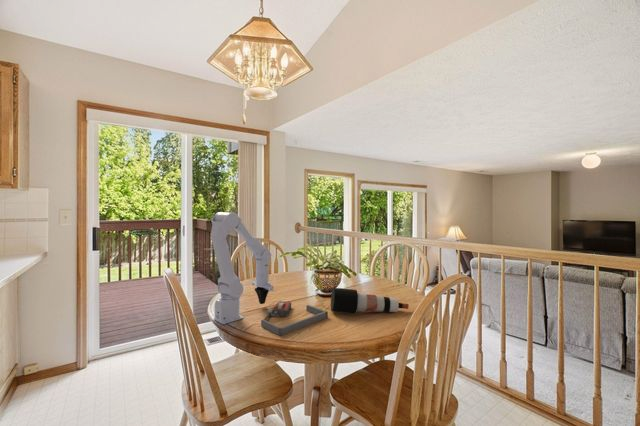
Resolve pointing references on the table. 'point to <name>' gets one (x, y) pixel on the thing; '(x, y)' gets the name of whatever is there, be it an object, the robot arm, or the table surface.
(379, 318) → the table surface
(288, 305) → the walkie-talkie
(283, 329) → the charging dock
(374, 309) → the striped bottle
